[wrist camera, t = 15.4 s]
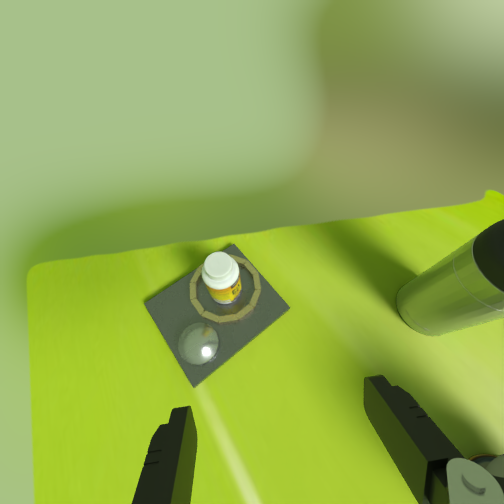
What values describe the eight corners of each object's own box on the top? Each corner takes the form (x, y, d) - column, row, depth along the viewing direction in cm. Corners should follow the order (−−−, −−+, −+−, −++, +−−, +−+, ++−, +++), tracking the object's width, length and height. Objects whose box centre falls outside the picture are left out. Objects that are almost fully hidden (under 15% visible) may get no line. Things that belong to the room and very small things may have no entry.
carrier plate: (234, 246, 48) (233, 239, 46) (289, 309, 42) (291, 305, 40) (146, 305, 43) (140, 300, 41) (194, 387, 37) (191, 387, 35)
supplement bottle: (238, 307, 42) (233, 285, 33) (206, 302, 42) (192, 278, 33) (244, 277, 44) (241, 249, 35) (214, 272, 45) (204, 243, 36)
